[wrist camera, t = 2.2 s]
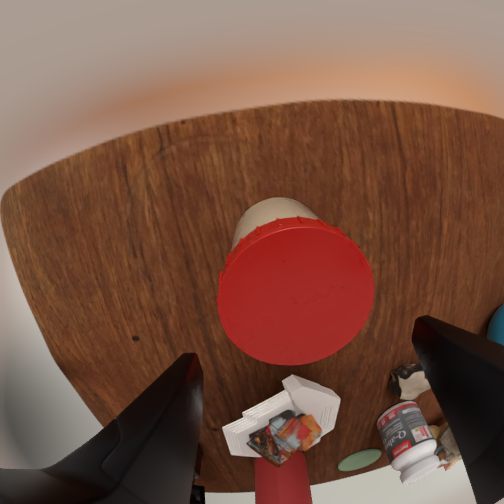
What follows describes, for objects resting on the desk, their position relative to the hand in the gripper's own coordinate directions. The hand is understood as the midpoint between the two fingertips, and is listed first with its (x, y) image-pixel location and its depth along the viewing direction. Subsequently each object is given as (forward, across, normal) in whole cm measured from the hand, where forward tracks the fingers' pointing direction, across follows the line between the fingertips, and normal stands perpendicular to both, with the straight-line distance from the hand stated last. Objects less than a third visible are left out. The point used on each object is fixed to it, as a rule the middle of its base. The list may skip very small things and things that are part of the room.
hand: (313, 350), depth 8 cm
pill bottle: (+11, -13, +24) cm, 30 cm away
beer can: (+11, +2, +29) cm, 31 cm away
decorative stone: (+11, -14, +16) cm, 24 cm away
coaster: (+11, -10, +36) cm, 39 cm away
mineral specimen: (+11, +1, +17) cm, 20 cm away
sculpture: (+4, -24, +26) cm, 36 cm away
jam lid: (+3, 0, 0) cm, 3 cm away
